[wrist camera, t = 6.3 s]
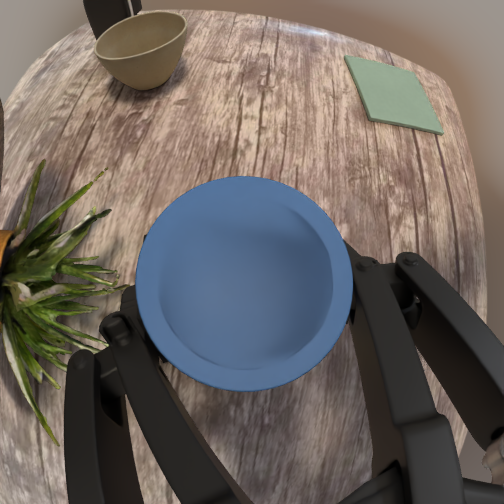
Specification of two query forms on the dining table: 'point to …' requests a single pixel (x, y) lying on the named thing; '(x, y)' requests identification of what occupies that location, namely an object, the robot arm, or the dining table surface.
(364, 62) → the mat
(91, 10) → the battery charger
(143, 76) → the beige round container
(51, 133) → the dining table surface
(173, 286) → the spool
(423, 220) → the dining table surface
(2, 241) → the potted plant
